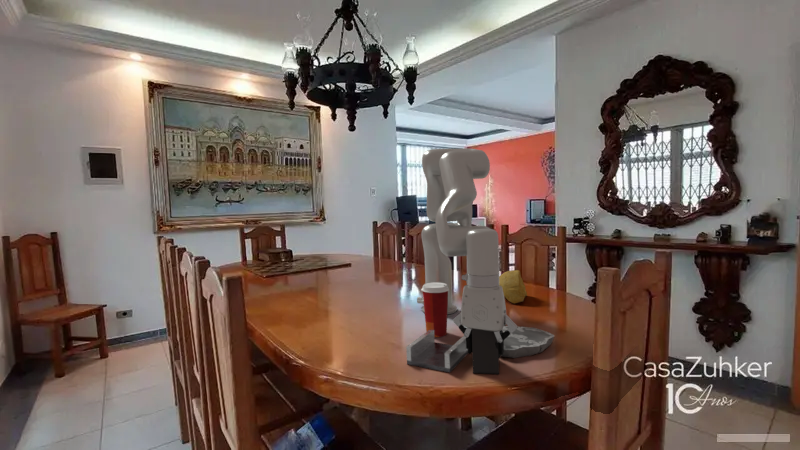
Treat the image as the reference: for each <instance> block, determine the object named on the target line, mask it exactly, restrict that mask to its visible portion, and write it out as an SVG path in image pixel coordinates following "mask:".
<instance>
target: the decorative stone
mask: <svg viewBox="0 0 800 450" xmlns="http://www.w3.org/2000/svg"><path fill="white" fill-rule="evenodd" d="M499 286H502V289H503V293H504V298H505V300H507V301H509V302H510V303H512V304H519V303H521V302H524V300H525V298H526V297H527V296H528V293H527V290H526V285H525V284H524V280H523V278H522V276H521V271H520V270H518V269H516V270H507V271H504V272H503V273H502V274H499Z"/></svg>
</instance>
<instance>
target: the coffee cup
mask: <svg viewBox="0 0 800 450" xmlns="http://www.w3.org/2000/svg"><path fill="white" fill-rule="evenodd" d="M448 290H449V288H448V286H447V284H445V283H437V282H435V283H426V282H425V283H424V284H423V285H422V288H421V289H420V291H421V292H422V297H423V300H424V305H423V306H424V311H425V313H424V321H425V330H426V332H427V331H429V330H430V329H431V330H434V338H443V337H446V335H447V333H448V332H447V330H448V314H447V308H448ZM426 332H425V333H426Z"/></svg>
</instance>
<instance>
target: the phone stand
mask: <svg viewBox="0 0 800 450" xmlns="http://www.w3.org/2000/svg"><path fill="white" fill-rule="evenodd" d="M495 342H498V341H497V338H496V336H495V333H494V332H493V331H485V330H478V329H472V354H471V355H472V358H471V359H472V373H473V374H481V375H482V374H484V375H499V374H500V362H499V361H500V360H499V359H500V358H498V349H497V348H496V345H495Z"/></svg>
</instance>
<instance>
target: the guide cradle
mask: <svg viewBox="0 0 800 450" xmlns="http://www.w3.org/2000/svg"><path fill="white" fill-rule="evenodd" d="M468 355H469V354H468V349H466V337H465V336H464V335H463V336H462V337H460V339H458V340H457V341H456V342H455V343H454V344H449V343H441V342H435V337H434V330H431V329H430V330H429V331H427V332H425V333H423V334H422V335H421V336H419V337H418V338H416V339H415V340H413V341H412V342H411V343H409V344H408V345H407V346H406V365H408V364H409V366H415V367H418V366H419V368H422V369H423V368H425V369H428V368H429V369H428V370H435V371H439V372H443V371H444V373H448V372H449V373H452V371H453V370H454V369H455V368H456V367H457V366H458V365H459V364H460V363H461V362H462V361H463V359H464V358H465V357H466V356H468ZM449 373H448V374H449Z"/></svg>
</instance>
